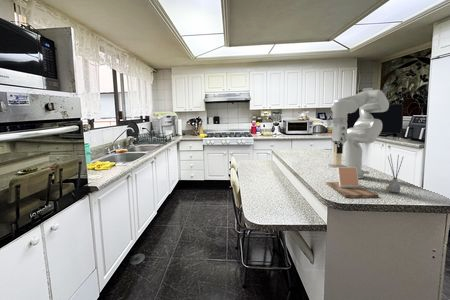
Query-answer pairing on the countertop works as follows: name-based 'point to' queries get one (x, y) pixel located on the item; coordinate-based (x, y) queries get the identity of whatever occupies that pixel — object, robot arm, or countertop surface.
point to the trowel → (336, 159)
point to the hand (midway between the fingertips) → (338, 152)
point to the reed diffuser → (394, 180)
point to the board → (352, 191)
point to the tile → (348, 177)
